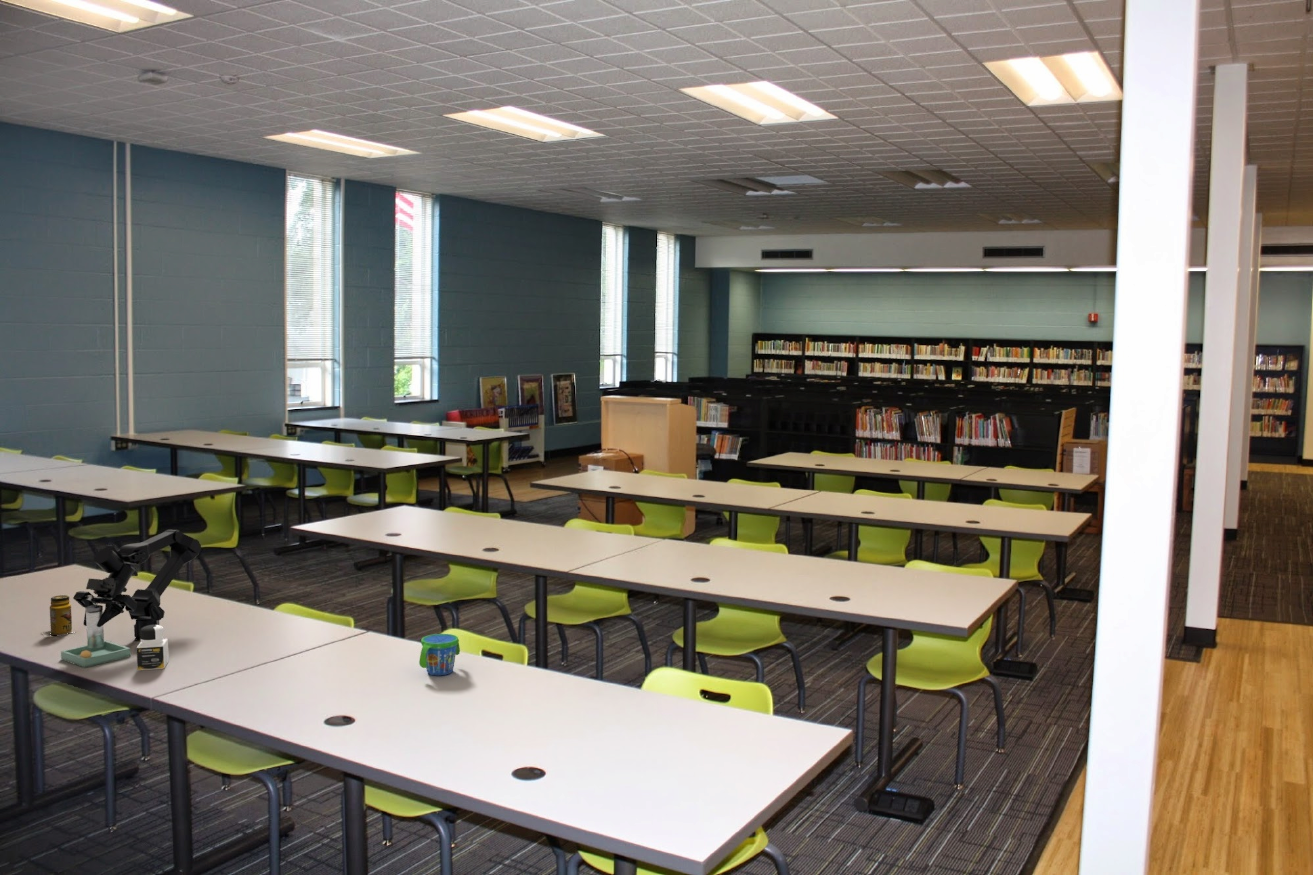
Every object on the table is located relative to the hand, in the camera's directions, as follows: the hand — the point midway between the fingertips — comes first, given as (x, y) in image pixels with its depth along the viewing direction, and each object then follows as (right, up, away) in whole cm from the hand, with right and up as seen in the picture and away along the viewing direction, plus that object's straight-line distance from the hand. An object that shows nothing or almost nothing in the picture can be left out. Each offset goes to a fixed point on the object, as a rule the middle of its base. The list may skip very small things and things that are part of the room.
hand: (91, 625), depth 304 cm
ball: (0, -8, -2) cm, 9 cm away
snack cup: (+106, -12, -8) cm, 107 cm away
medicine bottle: (+21, -11, -5) cm, 24 cm away
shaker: (0, -6, +2) cm, 7 cm away
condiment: (-26, -8, +28) cm, 39 cm away
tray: (0, -10, +2) cm, 10 cm away
